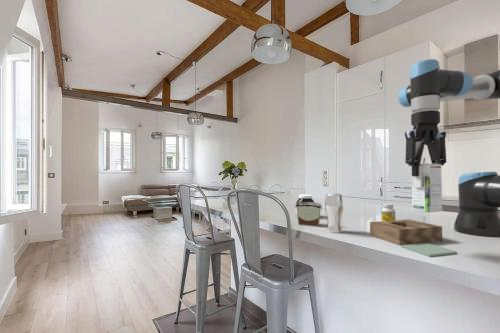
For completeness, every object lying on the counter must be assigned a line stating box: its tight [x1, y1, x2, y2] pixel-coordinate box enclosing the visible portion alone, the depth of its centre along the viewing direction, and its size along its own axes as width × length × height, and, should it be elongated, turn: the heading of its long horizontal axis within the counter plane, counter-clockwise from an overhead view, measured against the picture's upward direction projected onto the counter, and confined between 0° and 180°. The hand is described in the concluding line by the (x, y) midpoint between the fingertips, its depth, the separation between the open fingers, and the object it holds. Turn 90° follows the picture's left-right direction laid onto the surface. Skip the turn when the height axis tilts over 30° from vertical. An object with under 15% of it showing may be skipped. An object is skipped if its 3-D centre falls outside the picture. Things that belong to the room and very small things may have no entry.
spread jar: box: [295, 194, 315, 215], centre depth 145 cm, size 12×11×12 cm
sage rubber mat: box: [401, 242, 458, 258], centre depth 83 cm, size 10×10×1 cm
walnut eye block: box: [369, 218, 443, 246], centre depth 97 cm, size 18×14×5 cm
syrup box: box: [411, 163, 443, 213], centre depth 83 cm, size 6×6×14 cm
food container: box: [294, 201, 323, 228], centre depth 123 cm, size 12×6×10 cm, turn 58°
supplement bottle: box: [381, 203, 396, 221], centre depth 118 cm, size 5×5×10 cm
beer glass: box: [324, 193, 344, 234], centre depth 109 cm, size 7×7×15 cm
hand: (426, 186), depth 83 cm, fingers closed on syrup box, 6 cm apart
